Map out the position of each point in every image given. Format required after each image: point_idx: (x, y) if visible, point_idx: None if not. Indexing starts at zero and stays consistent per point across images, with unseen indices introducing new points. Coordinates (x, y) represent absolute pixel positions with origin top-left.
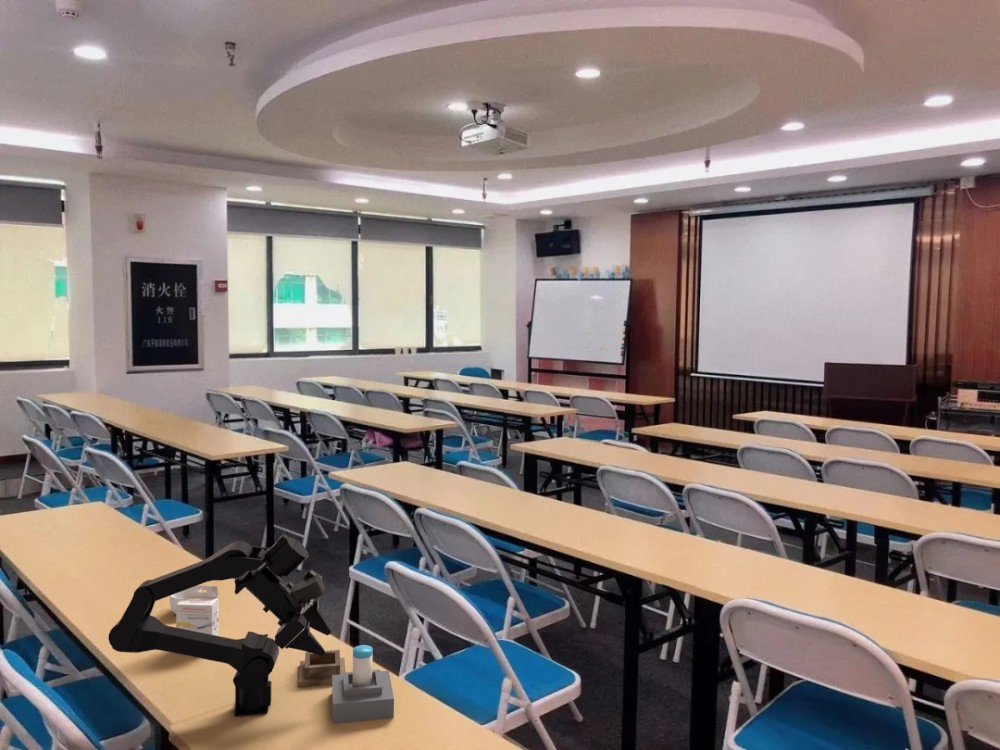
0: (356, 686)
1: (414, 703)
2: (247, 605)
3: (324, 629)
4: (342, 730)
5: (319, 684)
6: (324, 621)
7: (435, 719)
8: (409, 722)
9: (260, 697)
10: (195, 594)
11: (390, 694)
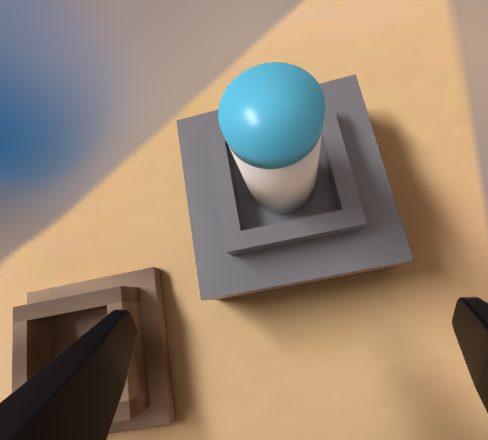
0: (312, 191)
1: None
2: None
3: (112, 364)
4: (426, 232)
5: (166, 348)
6: (53, 381)
7: (346, 16)
8: (365, 70)
9: None
10: None
11: (328, 89)
